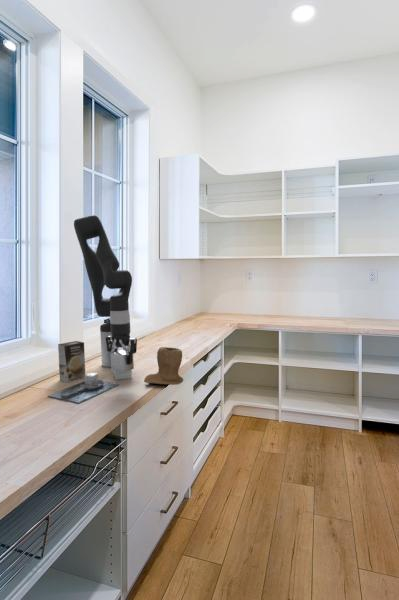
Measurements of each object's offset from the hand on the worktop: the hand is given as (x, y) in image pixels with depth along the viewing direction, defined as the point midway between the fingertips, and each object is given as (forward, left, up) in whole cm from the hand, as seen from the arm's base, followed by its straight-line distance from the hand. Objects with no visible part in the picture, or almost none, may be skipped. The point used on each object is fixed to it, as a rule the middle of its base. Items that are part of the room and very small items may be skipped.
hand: (122, 363), depth 146 cm
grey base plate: (+8, -13, -11) cm, 19 cm away
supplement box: (-13, -11, -11) cm, 21 cm away
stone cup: (-14, +11, -11) cm, 21 cm away
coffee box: (-1, -29, -11) cm, 31 cm away
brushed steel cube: (0, 0, -3) cm, 3 cm away
